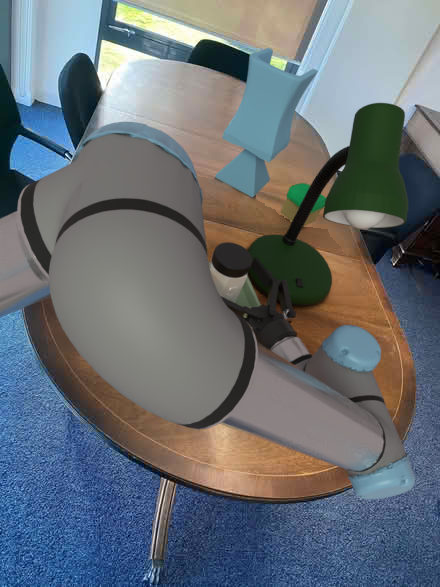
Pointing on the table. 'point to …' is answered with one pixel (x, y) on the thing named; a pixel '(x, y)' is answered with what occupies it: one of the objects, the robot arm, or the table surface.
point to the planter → (262, 122)
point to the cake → (295, 200)
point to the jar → (230, 269)
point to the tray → (247, 296)
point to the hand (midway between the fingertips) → (227, 266)
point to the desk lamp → (341, 204)
